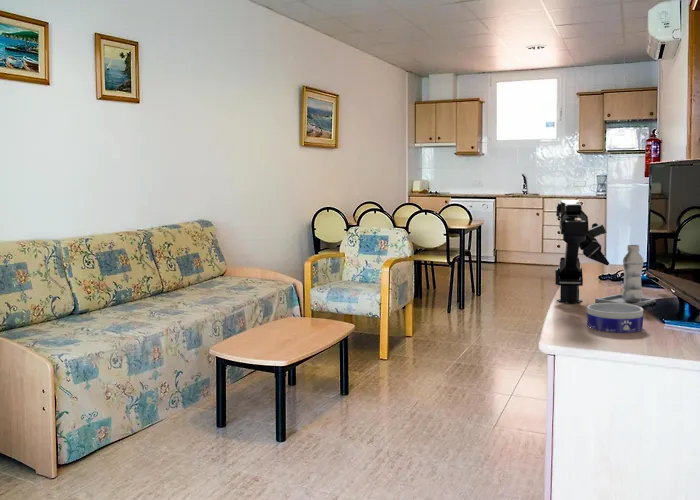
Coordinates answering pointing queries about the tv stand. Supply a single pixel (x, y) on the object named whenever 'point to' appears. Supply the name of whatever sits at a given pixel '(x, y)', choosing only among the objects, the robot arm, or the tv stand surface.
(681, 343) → the tv stand surface
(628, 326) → the dog bowl
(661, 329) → the tv stand surface
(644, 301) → the grey tray
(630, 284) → the plastic bottle
